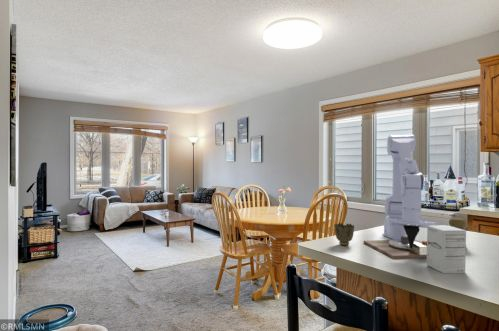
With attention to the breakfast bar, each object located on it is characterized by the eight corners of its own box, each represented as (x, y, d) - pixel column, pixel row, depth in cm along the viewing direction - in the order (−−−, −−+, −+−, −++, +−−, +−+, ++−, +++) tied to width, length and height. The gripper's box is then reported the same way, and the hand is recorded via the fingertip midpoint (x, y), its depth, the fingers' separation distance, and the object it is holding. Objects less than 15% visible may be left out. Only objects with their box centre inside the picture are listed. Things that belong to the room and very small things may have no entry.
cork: (469, 249, 113) (470, 219, 113) (451, 248, 115) (451, 219, 115) (461, 245, 119) (462, 217, 119) (444, 244, 121) (445, 216, 121)
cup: (355, 243, 121) (355, 223, 121) (353, 248, 114) (353, 227, 114) (335, 241, 124) (336, 222, 124) (332, 246, 117) (332, 225, 117)
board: (363, 243, 122) (363, 230, 122) (414, 241, 125) (414, 229, 125) (393, 258, 102) (393, 243, 102) (453, 256, 105) (453, 242, 105)
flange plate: (383, 242, 119) (383, 234, 119) (410, 241, 119) (410, 234, 119) (407, 254, 102) (407, 246, 102) (439, 254, 103) (439, 246, 103)
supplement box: (425, 265, 96) (426, 225, 96) (448, 264, 96) (448, 224, 96) (442, 273, 88) (443, 230, 88) (466, 273, 89) (467, 229, 89)
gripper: (389, 208, 104) (389, 248, 104) (438, 211, 99) (438, 253, 99) (387, 206, 111) (387, 243, 111) (433, 208, 106) (433, 247, 106)
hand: (411, 247), depth 106 cm, fingers closed
